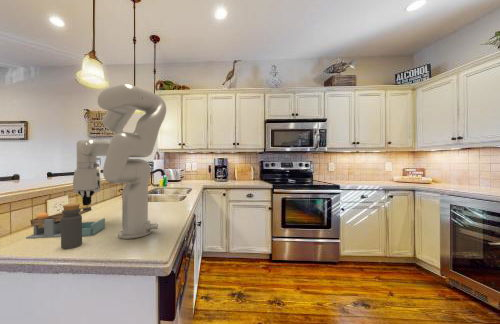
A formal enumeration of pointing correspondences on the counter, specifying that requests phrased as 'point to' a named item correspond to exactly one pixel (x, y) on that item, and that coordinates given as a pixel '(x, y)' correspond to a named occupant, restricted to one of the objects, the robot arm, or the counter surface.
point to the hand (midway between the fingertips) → (86, 204)
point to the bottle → (71, 226)
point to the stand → (47, 230)
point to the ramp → (56, 218)
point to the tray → (92, 227)
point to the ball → (42, 215)
